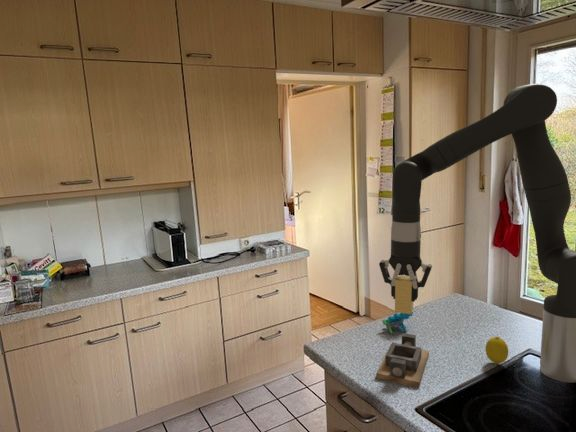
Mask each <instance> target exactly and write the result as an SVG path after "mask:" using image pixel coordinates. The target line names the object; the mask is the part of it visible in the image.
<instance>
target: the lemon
mask: <svg viewBox="0 0 576 432" xmlns="http://www.w3.org/2000/svg"><path fill="white" fill-rule="evenodd" d="M485 353H486V354H485V355H486V357H487V358H488V360H490V361H491V362H493V364H495V365H498V364H502V363H504V362H505V361H506V360H507V359H508V357H509V348H508V344H507V342H506V341H505V340H504V339H502V338H500V337H499V336H494V337H491V338H489V339H488V340H487V342H486V344H485Z"/></svg>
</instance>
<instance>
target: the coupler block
mask: <svg viewBox="0 0 576 432" xmlns="http://www.w3.org/2000/svg"><path fill="white" fill-rule="evenodd" d="M412 288H413V286H412V281H411V280H410V277H409V276H406V275H399V277H398V279H396V280H395V299H394V312H395V313H397V314H401V313H405V314H411V313H412V312H413V310H414V302H412Z"/></svg>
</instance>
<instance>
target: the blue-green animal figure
mask: <svg viewBox="0 0 576 432" xmlns="http://www.w3.org/2000/svg"><path fill="white" fill-rule="evenodd" d="M413 314H414V312H413V311H412V313H411V314H405V313H398V312H395V313H394V314H393V316H391V315H390V316H388V317H387V319H383V320H382V324H383V326H386V328H387V329H388V331H389V332H390V334H393V333H394V332H393V329H392V327H394V326H399V325H400V327H401V330H402V331H403V333H407V329H406V327H405V325H404V321H405V320H408V319H410V317H412V316H413Z"/></svg>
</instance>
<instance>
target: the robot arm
mask: <svg viewBox="0 0 576 432" xmlns="http://www.w3.org/2000/svg"><path fill="white" fill-rule="evenodd" d="M557 97H558V96H557V94H556V92H555V91H554V89H553V88H551V87H550V86H548V85H546V84H542V83H529V84H525V85H521V86H516V87H514V88H513V89H511V90H510V91H509V93H508V94H506V96H505V98H504V101H503V105H502V106H501V107H500V108H498V109H497V110H494V111H493V112H492V113H490V114H488V115H486V116H484V117H483V118H481V119H479V120H478V121H475V122H473V123H471V124H469V125H468V124H467V125H466V126H464V127H462V128H460V129H458V130H455V131H454V132H452V133H450V134H447V135H446V136H444V137H443V138H440V140H437V141H436V142H434V143H433V144H431V145H429V146H428V147H427V148H425V149H424V150H422V151H420V152H418V153H416V154H414V155H413V156H411V157H409V158H406V159H405V160H403V161H401V162H400V163H397V164H396V165H395V167H394V169H393V171H392V190H393V192H392V194H393V202H392V216H391V221H392V222H391V227H390V229H391V231H390V257H389V259H386V260H385V259H382V260H380V262H379V264H378V265H379V268H380V271H381V275H382V278H383V282H384V283H386V284H389V285H390V289H391V290H390V296H391V297H393V300H395V280H396V279H398V277H399V276H409V277H410V280H411V281H412V286H413V288H412V302H416V300H418V298H419V289H420V288H424V287H425V286H426V284H427V281H428V278H429V276H430V273H431V271H432V268H433V265H432V264H430V263H429V264H426V263H425V262H423V260H422V258H421V238H422V227H421V194H422V193H421V192H422V182H423V180H425V179H427V178H429V177H430V176H432V175H434V174H436V173H440V172H442V171H445V170H446V169H448V168H450V167H452V166H454V165H456V164H457V163H460V162H461V161H462V160H464V159H466V158H468V157H469V156H471V155H473V154H475V153H477V152H479V151H480V150H482V149H484V148H485V147H487V146H489V145H490V144H493V143H495V142H497V141H499V140H501V139H503V138H505V137H508V136H509V135H511V136H512V139H513V142H514V147H515V149H516V153H517V160H518V166H519V171H520V176H521V180H522V186H523V191H524V193H525V199H526V203H527V205H528V210H529V213H530V214H529V215H530V218H531V222H532V227H533V231H534V237H535V244H536V245H535V246H536V255H537V261H538V262H537V264H538V267H539V271H540V273H541V274H542V276H543V277H545V278H546V279H547V280H549V281H551V282H553V283H555V284H557V286H556V287H557V288H556V294H551V295H550V294H549V295H548V296H546V297H545V298H544V300H543V308H542V309H543V311H542V323H541V324H542V325H541V326H542V328H541V341H540V342H541V344H540V359H539V370H540V371H541V373H542V374H543V375H545V376H546V377H548V378H550V379H552V380H554V381H558V382H561V383H571V384H572V383H576V250H573V249H571V248H570V247H569V246H568V243H567V240H566V235H565V230H564V228H565V227H564V226H565V220H566V217H567V215H568V212H569V210H570V207H571V202H572V192H571V187H570V184H569V179H568V174H567V173H566V169H565V167H564V165H563V162H562V161H561V159H560V157H559V156H558V154H557V152H556V151H555V149H554V147H553V145H552V143H551V141H550V138H549V135H548V130H547V125H546V120H547V119H548V118H550V117H551V116H552V115H553V114H554V112H555V111H556V108H557V104H558V98H557ZM389 266H391V268H392V269H393V270H394V272H393V276H392V278H391V275H390V272H389V269H388V268H389ZM420 268H421V269H422V272H423V275H422V278H421V280H420V281H419V279H418V274H417V272H418V270H419V269H420Z"/></svg>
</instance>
